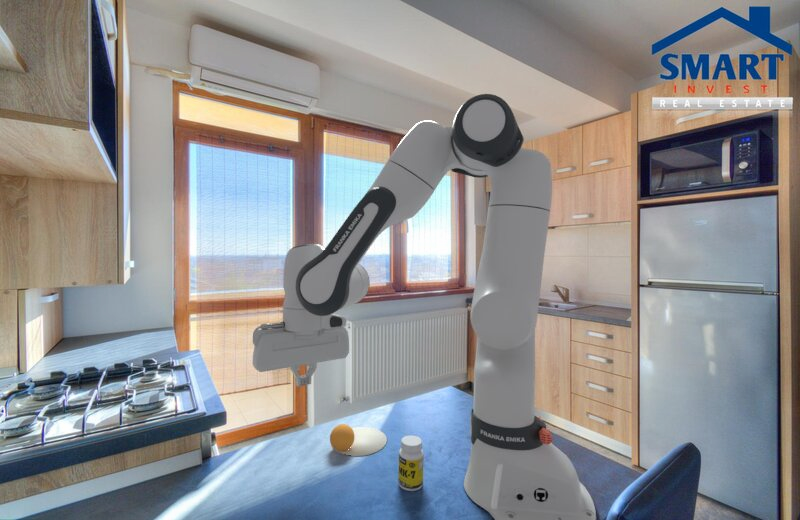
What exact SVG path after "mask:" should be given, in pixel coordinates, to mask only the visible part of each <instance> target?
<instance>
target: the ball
mask: <svg viewBox="0 0 800 520" xmlns="http://www.w3.org/2000/svg"><path fill="white" fill-rule="evenodd" d="M352 428H353V427H351V426H350V425H349V424H346V423H341V424H338V425H335V427H333V429H332V430H331V433H330V435H329V442H330V445H331V448H332V449H334V451H336V450H337V451H346V450H348V449H349V448H350V447H351V446H352V444H353V442H354V431H353V429H352ZM337 451H336V452H337Z"/></svg>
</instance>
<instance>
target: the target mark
mask: <svg viewBox="0 0 800 520" xmlns="http://www.w3.org/2000/svg"><path fill="white" fill-rule="evenodd" d="M351 428H352V429H353V431H354V442H353V444H352V446H351V448H349V450H346V451H337V450H335V451H336V452H337V453H339V452H340V453H339V454H341V453H343V454H342V455H344V454H347V455H346V456H348V455H351V456H350V457H363V456H364V457H365V456H369V455H373V454H376V453H378V452H380V451H382V449H384V448H385V446H386V444H387V440H388V439H387V436H386V434H385V433H384V432H383V431H381V430H379V429H377V428H373V427H369V426H368V427H367V426H357V427H356V426H355V427H351Z"/></svg>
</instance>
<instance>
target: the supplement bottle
mask: <svg viewBox="0 0 800 520" xmlns="http://www.w3.org/2000/svg"><path fill="white" fill-rule="evenodd" d="M422 448H423V441H422V439H421V437H419V436H416V435H405V436H403V437H402V438H401V440H400V449H399V451H398V475H397V476H398V479H397V480H398V481H397V482H398V486H399V487H400V488H401V489H402V490H404V491H409V492H415V491H418V490H420V489H422V488H423V485H424V459H425V458H424V456H425V455H424V450H423V449H422Z"/></svg>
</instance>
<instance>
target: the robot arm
mask: <svg viewBox="0 0 800 520" xmlns="http://www.w3.org/2000/svg"><path fill="white" fill-rule="evenodd" d="M523 143H524V136H523V133H522V131H521V129H520V127H519V125H518V122H517V119H516V117H515V114H514V112H513V110H512V108H511V107H510V105H509V104H508V103H507V102H506V100H505V99H503V98H502V97H500V96H498V95H496V94H491V93H483V94H481V93H480V94H477V95H475V96H472V97H471V98H469V99H467V100H466V101H465V102H464V103H463V104H462V105H461V106H460V108H459V109H458V111H457V112H456V114H455V116H454V119H453V123H452V126H449V127H448V126H444V125H443V124H440V123H439V122H435V121H433V120H422V121H420V122H418V123H416V124H415V125H414V126H413V127H412V128H411V129H410V130H409V131H408V132H407V133H406V135H405V136H404V137H403V138H402V139H401V141H400V142H399V144H397V146H396V147H395V149H394V150H393V151H392V153H391V155H390V156H389V158H388V159H387V161H386V162H385V164H384V166H383V167H382V169H381V171H380V172H379V174H378V175H377V177H376V178H375V180H374V182H373V184H372V185H371V186H370V188H369V189H368V190H367V191H366V193H365V194H364V196H363V197H362V198H361V199H360V200H359V202H358V203H357V204H356V205H355V207H353V209H352V211H351V212H350V214H349V215H348V216H347V218H346V219H345V220H344V222H343V223H342V225H341V226H340V227H339V229H338V230H337V231H336V233H335V234H334V235H333V237H332V239H331V240H330V242H329V243H328V244H327V246H325V247H324V246H323V245H322V244H319V243H310V244H301V245H296V246H293V247H292V248H290V249H288V251H287V253H286V256H285V259H284V263H283V264H284V265H283V277H282V281H283V291H284V301H283V304H282V321H279V322H278V321H277V322H273V323H261V324H260V326H257V327H256V328H255V329H254V330H253V332H252V344H253V346H254V347H253V354H252V366H253V368H254V369H255V370H256V371H258V372H259V373H266V372H271V371H276V370H283V369H290V371H291V373H292V375H293V376H294V378H295V379H294V384H295V386H296V387H303V386H309V385H311V384H312V376H313V375H314V373H315V372H316V369H317V367H318V366H317V364H318V363H325V362H330V361H335V360H342V359H346V358H347V357H348V354H349V353H350V338H349V331H348V330H347V328H346V325H347V317H345V316H342V315H340V314H337V313H336V312H337V311H339V310H341V309H346V308H347V307H349V306H352V305H355V304H357V303H359V302H360V301H363V299H365V297H366V295H367V294H368V292H369V290H370V283H371V281H370V275H369V273H368V272H367V270H366V268H365V267H364V266H362V265H361V264H360V262H361V261H362V259H363V258H364V256H365V255H366V254H367V252H368V250H370V248H371V247H372V245H373V243H374V242H375V241H376V239H377V238H378V237H379V236H380V235H381V234H382V233H383V232H384V231H385V230H387V229H388V228H390V227H392V226H394V225H395V224H398V223H401V222H403V221H407V220H410V219H412V218H413V217H414V216H415V215H417V214H418V213H419V212H420V210H421V209H422V208H423V207H424V206H425V205H426V204H427V203H428V201H429V199H430V198H431V197H432V195H433V193H435V191H436V189H437V187H438V186H439V184H440V183H441V181H442V180H443V178H444V177H445V176H446V174H447V173H448V172H450V171H451V172H453V173H457V174H461V175H464V176H468V177H472V178H480V179H481V178H482V179H483V178H488V179H489V184H490V190H489V192H490V194H489V201H488V208H487V213H486V220H485V221H486V222H485V230H484V238H483V245H482V250H481V256H480V260H479V265H478V270H477V274H476V279H475V284H474V289H473V295H472V301H471V306H470V315H469V316H470V317H469V318H470V323H471V324H470V325H471V327H472V329H473V332H474V333H475V335H476V337H477V338H476V339H477V340H476V349H475V358H474V359H475V361H474V367H473V368H474V369H473V408H471V414H470V420H469V421H470V422H469V423H470V425H469V436H470V442H471V447H470V448H471V449H470V454H469V460H468V464H467V468H466V469H467V470H466V474H465V477H464V479H463V488H464V490H465V493H466V494H467V496H468V497H469V498H470V500H472V501H473V502H474V503H475V504H476V505H478V506H479V507H481V508H483V509H484V510H485V511H486V512H488V513H489V514H490V516H491V517H492V518H493V519H494V520H597V511H596V507H595V504H594V501H593V498H592V496H591V495H590V493H589V491H588V490H587V488H586V487H585V486H584V484H583V483H582V482H581V481H580V479H579V476H578V473H577V470H576V468H575V466H574V464H573V463H572V460H571V459H570V458H569V457H568V456H567V455H566V454H565V453H564V452H563V451H562V450H560V449H559V448H558V447H557V446H555V445H554V443H553V440H554V439H553V436H552V434H551V431H550V430H549V429H547V424H546V423H545V422H544V421H543V419H542V417H541V415H538V416H536V415H535V405H536V404H535V403H536V401H535V400H536V399H535V398H536V395H535V394H536V326H537V321H538V315H539V314H538V312H539V305H540V304H539V303H540V298H541V297H540V296H541V288H542V281H543V270H544V261H545V251H546V245H547V238H548V230H549V223H550V216H551V208H552V198H553V197H552V196H553V195H552V194H553V173H552V164H551V161H550V159H549V157H548V156H546V154H544V153H543V152H541V151H540V150H535V149H532V148H524V147H522V146H523ZM305 365H306V367H308V369H307V370H306V373H305V374H301V375H300V373H299V372H300V370H301V366H305Z"/></svg>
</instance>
